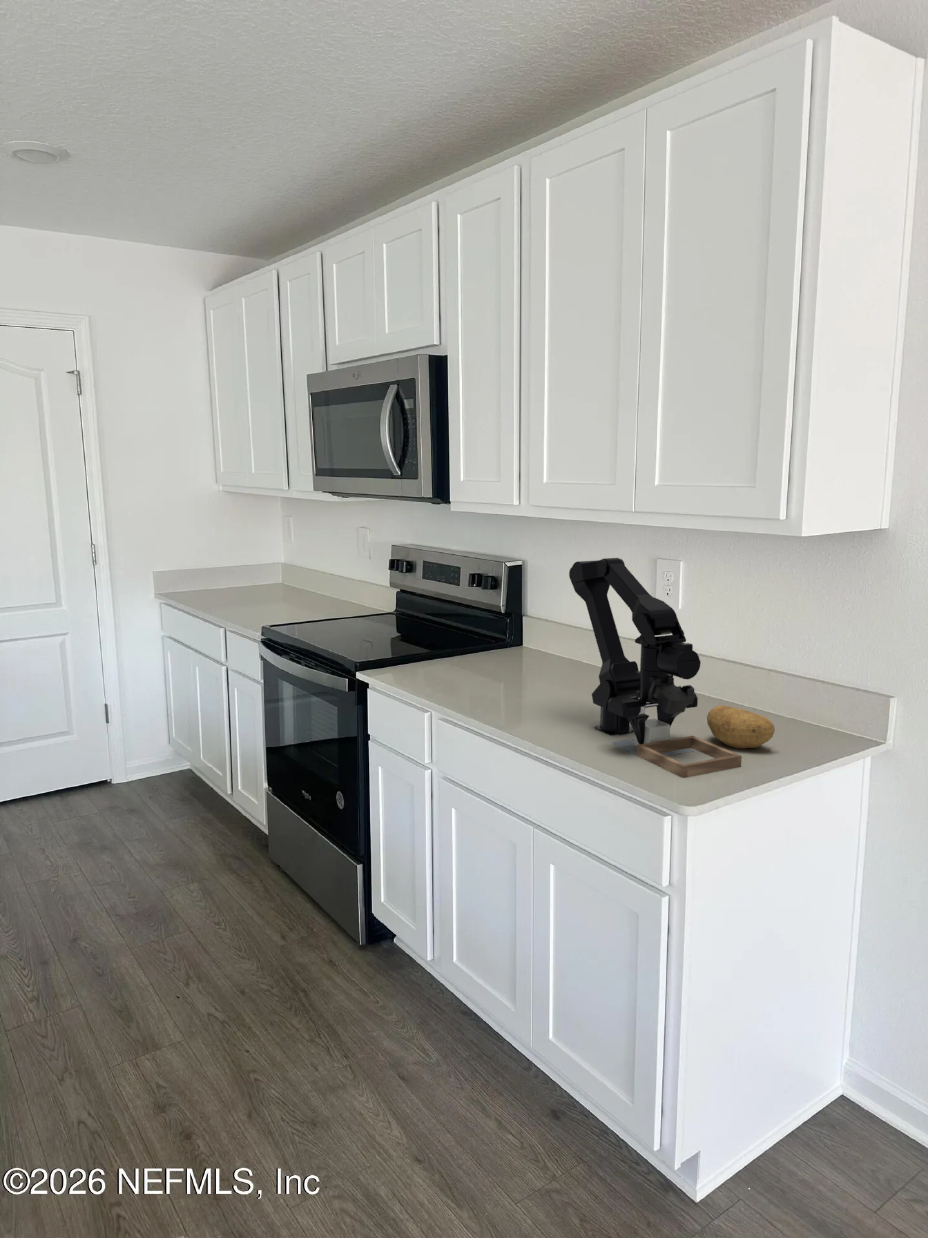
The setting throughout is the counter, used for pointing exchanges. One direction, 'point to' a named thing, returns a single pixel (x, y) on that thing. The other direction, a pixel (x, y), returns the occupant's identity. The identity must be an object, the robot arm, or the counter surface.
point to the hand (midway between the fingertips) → (651, 742)
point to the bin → (721, 762)
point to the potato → (739, 727)
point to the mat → (632, 748)
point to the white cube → (655, 731)
